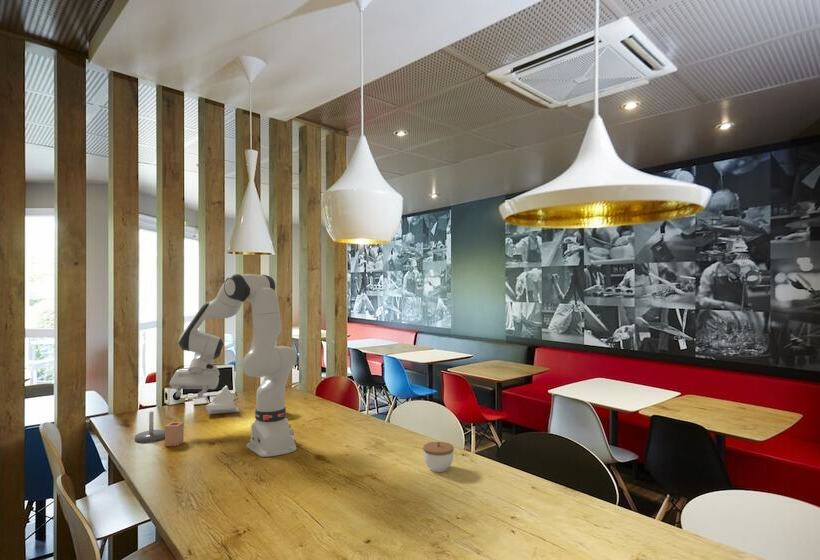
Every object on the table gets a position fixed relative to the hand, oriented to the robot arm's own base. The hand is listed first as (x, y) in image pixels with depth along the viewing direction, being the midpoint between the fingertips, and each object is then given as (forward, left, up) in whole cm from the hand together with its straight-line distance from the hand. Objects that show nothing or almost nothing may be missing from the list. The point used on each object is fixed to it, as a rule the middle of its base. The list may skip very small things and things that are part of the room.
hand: (188, 396), depth 197 cm
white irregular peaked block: (+27, -18, -16) cm, 36 cm away
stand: (+2, +14, -16) cm, 22 cm away
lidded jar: (-86, -73, -16) cm, 114 cm away
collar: (-11, +6, -16) cm, 20 cm away
